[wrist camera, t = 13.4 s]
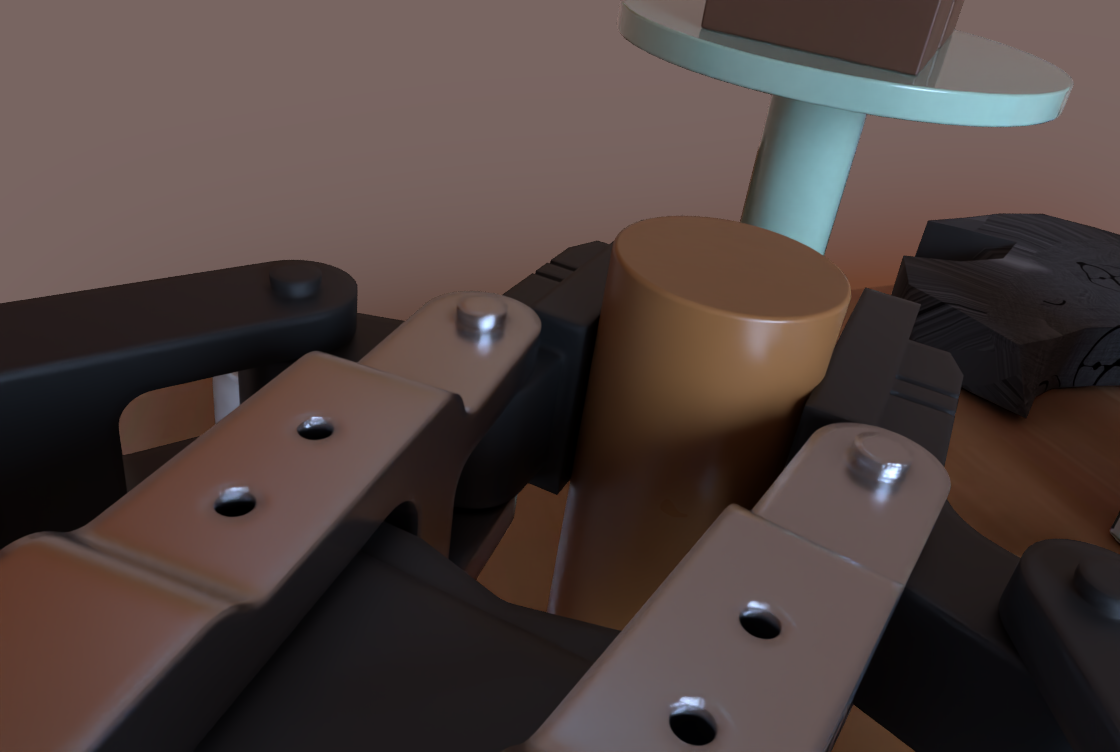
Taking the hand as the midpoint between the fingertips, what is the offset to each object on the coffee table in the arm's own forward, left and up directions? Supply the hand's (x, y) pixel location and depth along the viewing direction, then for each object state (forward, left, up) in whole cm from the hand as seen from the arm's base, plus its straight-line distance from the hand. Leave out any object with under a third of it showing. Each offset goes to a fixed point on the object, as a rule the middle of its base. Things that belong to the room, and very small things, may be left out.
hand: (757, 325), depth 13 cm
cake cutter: (-1, -2, -16) cm, 16 cm away
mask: (+26, +30, -17) cm, 43 cm away
